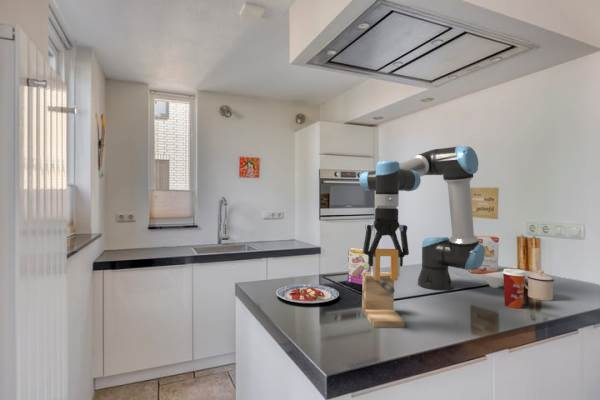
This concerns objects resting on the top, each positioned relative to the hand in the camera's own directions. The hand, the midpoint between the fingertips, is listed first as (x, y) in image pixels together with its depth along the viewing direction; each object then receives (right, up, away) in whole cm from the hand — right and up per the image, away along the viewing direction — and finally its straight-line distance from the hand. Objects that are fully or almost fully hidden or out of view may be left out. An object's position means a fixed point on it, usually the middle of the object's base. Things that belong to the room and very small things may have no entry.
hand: (385, 275), depth 109 cm
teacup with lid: (+74, -17, +32) cm, 82 cm away
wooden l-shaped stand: (0, -15, +3) cm, 16 cm away
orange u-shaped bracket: (0, -1, 0) cm, 1 cm away
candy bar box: (+1, -15, +49) cm, 52 cm away
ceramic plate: (-25, -15, +26) cm, 39 cm away
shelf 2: (+76, -17, +53) cm, 94 cm away
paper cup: (+55, -16, +19) cm, 60 cm away
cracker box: (+75, -16, +77) cm, 109 cm away
